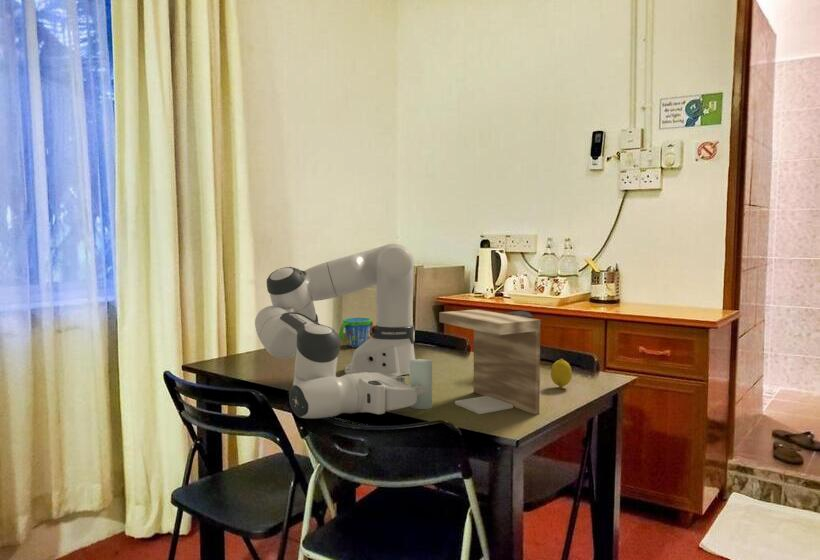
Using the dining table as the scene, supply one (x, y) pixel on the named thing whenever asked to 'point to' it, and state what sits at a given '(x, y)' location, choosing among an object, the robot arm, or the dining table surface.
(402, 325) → the robot arm
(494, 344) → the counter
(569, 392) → the dining table surface
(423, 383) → the pale green cylinder
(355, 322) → the snack cup
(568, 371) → the lemon
